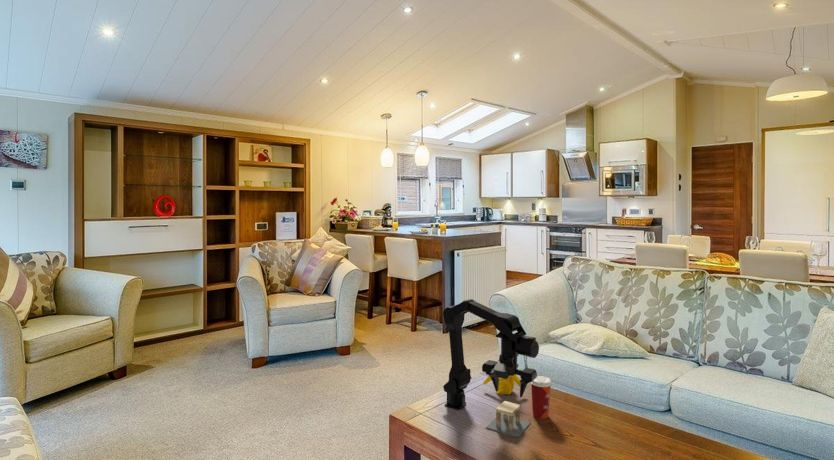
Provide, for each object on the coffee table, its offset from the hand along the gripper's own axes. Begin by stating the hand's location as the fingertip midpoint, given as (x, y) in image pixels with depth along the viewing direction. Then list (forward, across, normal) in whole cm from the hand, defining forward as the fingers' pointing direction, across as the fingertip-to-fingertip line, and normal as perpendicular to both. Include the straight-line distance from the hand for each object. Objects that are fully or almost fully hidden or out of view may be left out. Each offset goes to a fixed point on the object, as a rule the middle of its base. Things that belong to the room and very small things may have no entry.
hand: (508, 393), depth 163 cm
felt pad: (+12, 0, 0) cm, 12 cm away
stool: (+11, 0, 0) cm, 11 cm away
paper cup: (+12, +7, +14) cm, 20 cm away
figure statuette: (+12, -13, +26) cm, 32 cm away
